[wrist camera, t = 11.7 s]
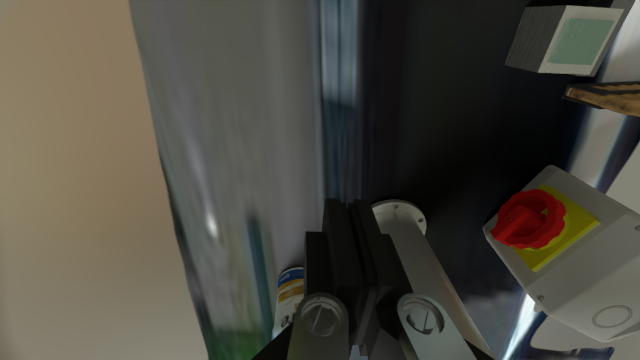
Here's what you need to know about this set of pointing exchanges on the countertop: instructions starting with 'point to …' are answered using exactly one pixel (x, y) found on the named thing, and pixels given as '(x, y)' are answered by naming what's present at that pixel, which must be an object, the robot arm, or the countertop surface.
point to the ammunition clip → (607, 96)
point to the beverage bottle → (288, 298)
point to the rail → (567, 37)
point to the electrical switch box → (573, 253)
